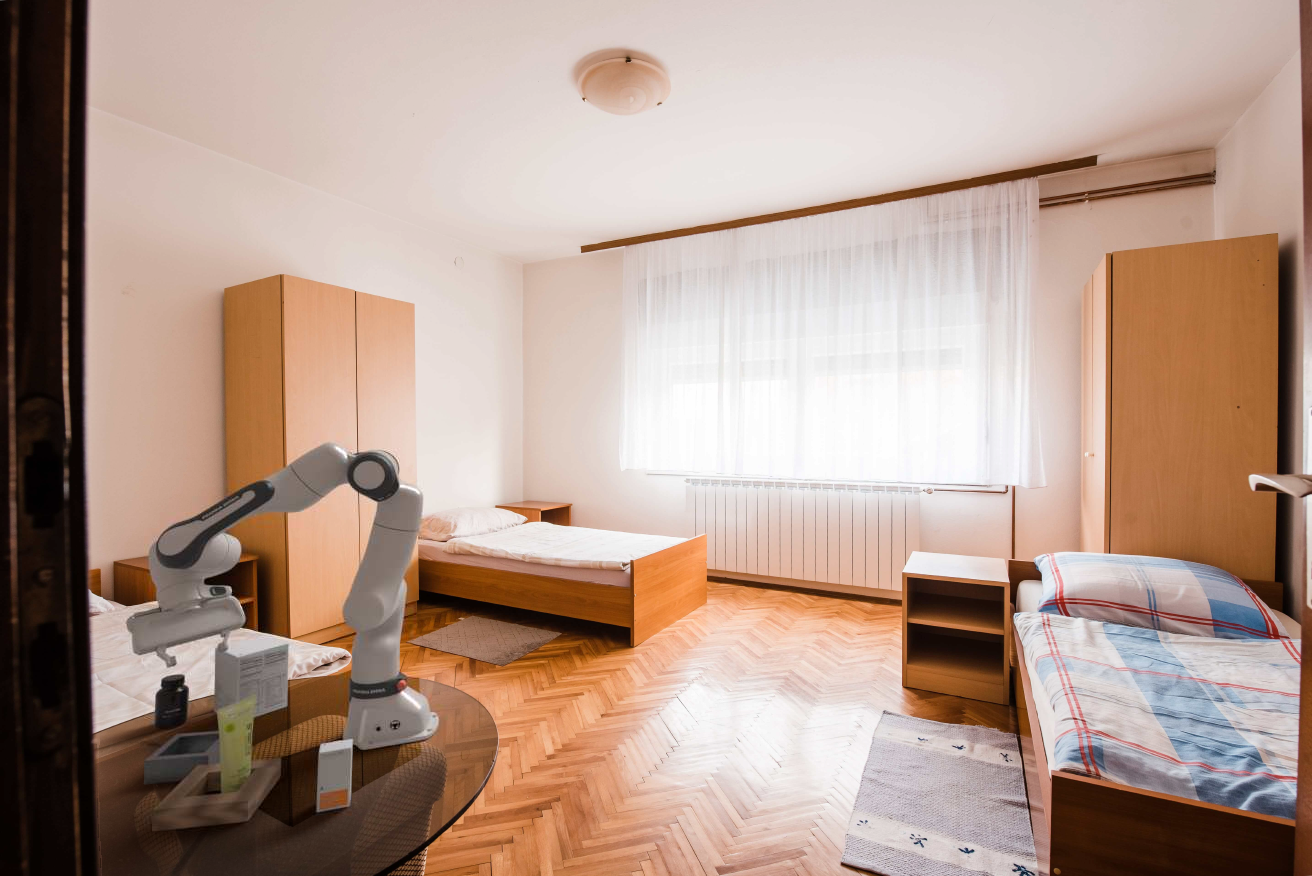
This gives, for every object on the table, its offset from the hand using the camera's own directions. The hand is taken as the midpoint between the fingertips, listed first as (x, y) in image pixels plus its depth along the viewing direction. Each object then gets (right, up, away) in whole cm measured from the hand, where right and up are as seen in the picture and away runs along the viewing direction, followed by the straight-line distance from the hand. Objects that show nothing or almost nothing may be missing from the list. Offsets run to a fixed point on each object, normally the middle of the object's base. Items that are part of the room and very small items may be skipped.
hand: (198, 658), depth 133 cm
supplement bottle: (-24, -25, +22) cm, 41 cm away
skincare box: (+36, -26, -11) cm, 46 cm away
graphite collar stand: (-3, -25, +2) cm, 26 cm away
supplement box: (-10, -26, +31) cm, 42 cm away
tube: (+14, -26, -9) cm, 30 cm away
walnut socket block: (+13, -25, -11) cm, 30 cm away
